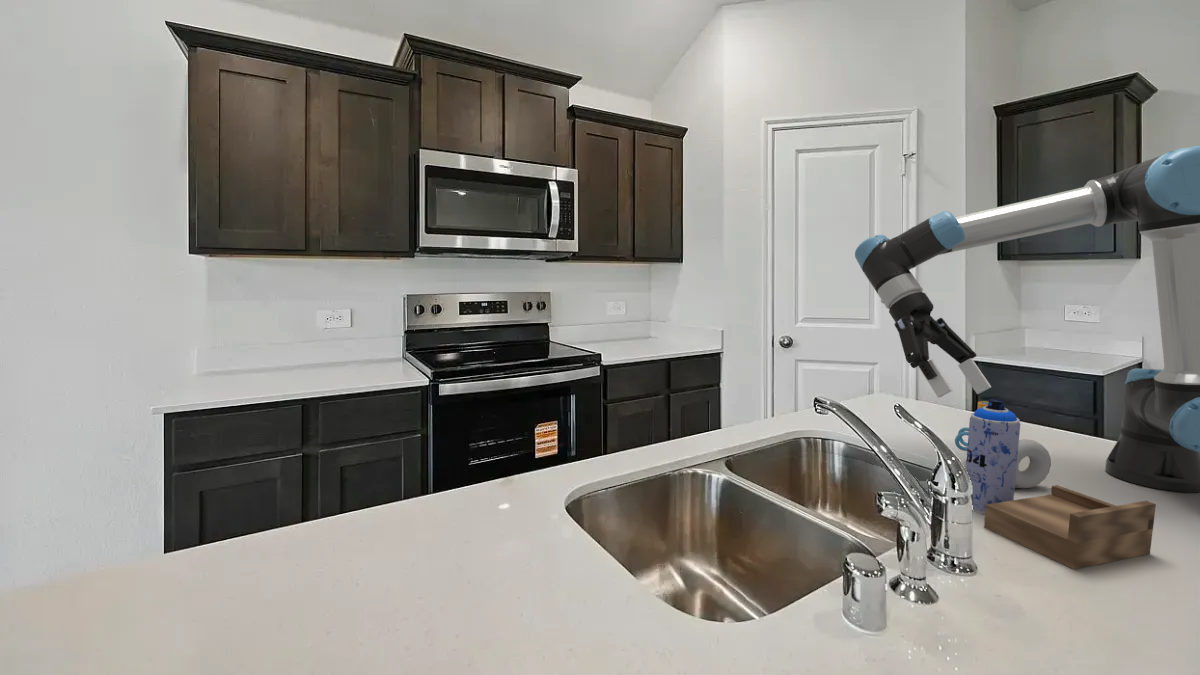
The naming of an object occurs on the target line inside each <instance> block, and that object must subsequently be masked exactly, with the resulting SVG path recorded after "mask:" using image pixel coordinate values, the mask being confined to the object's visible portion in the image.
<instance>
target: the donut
mask: <svg viewBox="0 0 1200 675" xmlns="http://www.w3.org/2000/svg"><path fill="white" fill-rule="evenodd" d="M1026 457H1028V458H1029V463H1028V466H1027V467H1026V468H1025V469H1022V470H1020V468H1019V466H1020V462H1021V461H1022V460H1023V459H1024V458H1026ZM1051 466H1052V460H1051V455H1050V454H1049V451H1048V450H1047V448H1046V447H1044V445H1043V444H1041V443H1039V442H1038V441H1035V440H1032V439H1027V438H1024V439H1019V445H1018V456H1017V467H1016V478H1015V488H1017V489H1029V488H1034V487H1036V486H1038V485H1040V484H1041V483H1042V482H1043V481H1044V480H1045V479H1046V478H1047V477H1048V475H1049V474H1050V471H1051V470H1050V469H1051Z"/></svg>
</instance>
